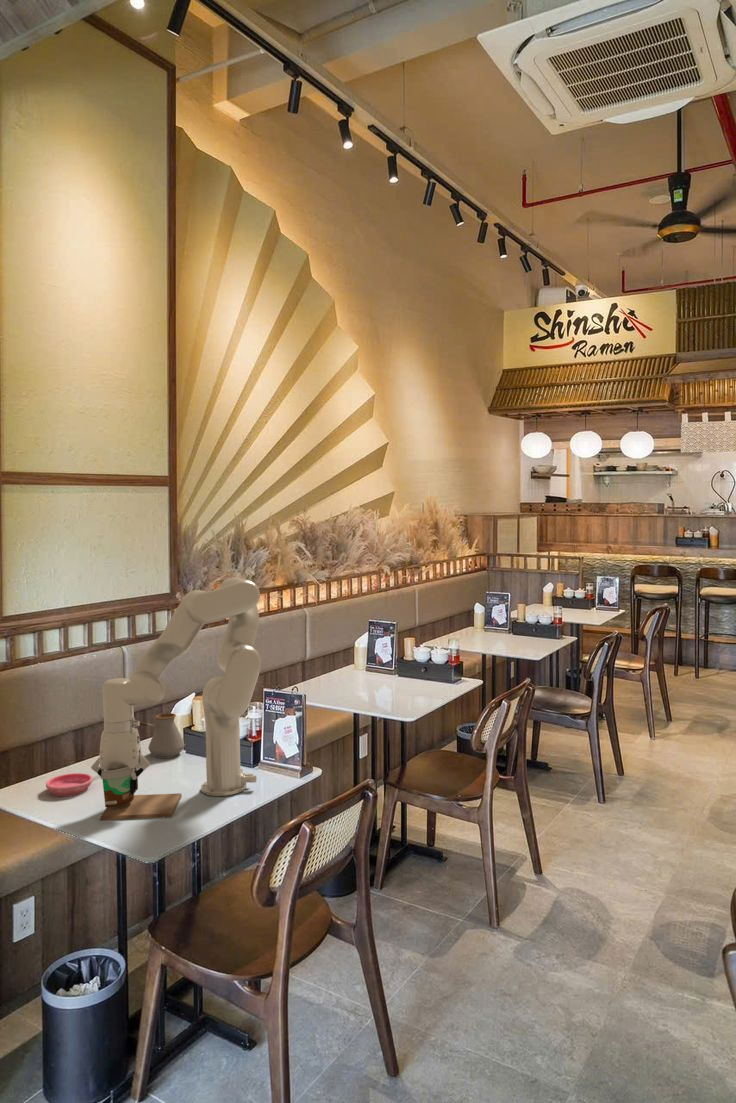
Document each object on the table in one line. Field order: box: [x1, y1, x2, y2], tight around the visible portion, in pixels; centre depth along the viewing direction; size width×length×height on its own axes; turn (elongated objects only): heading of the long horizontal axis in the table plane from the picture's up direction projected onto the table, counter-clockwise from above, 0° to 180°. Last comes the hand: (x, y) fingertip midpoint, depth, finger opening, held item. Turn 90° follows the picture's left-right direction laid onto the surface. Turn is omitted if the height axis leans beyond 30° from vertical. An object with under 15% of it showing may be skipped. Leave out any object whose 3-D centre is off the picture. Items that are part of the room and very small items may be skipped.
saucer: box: [45, 772, 94, 797], centre depth 215 cm, size 12×12×3 cm
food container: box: [100, 766, 138, 808], centre depth 200 cm, size 12×6×10 cm, turn 170°
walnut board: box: [100, 792, 182, 821], centre depth 201 cm, size 18×14×1 cm
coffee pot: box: [135, 712, 186, 759], centre depth 242 cm, size 21×12×15 cm, turn 138°
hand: (121, 792), depth 200 cm, fingers closed on food container, 5 cm apart
